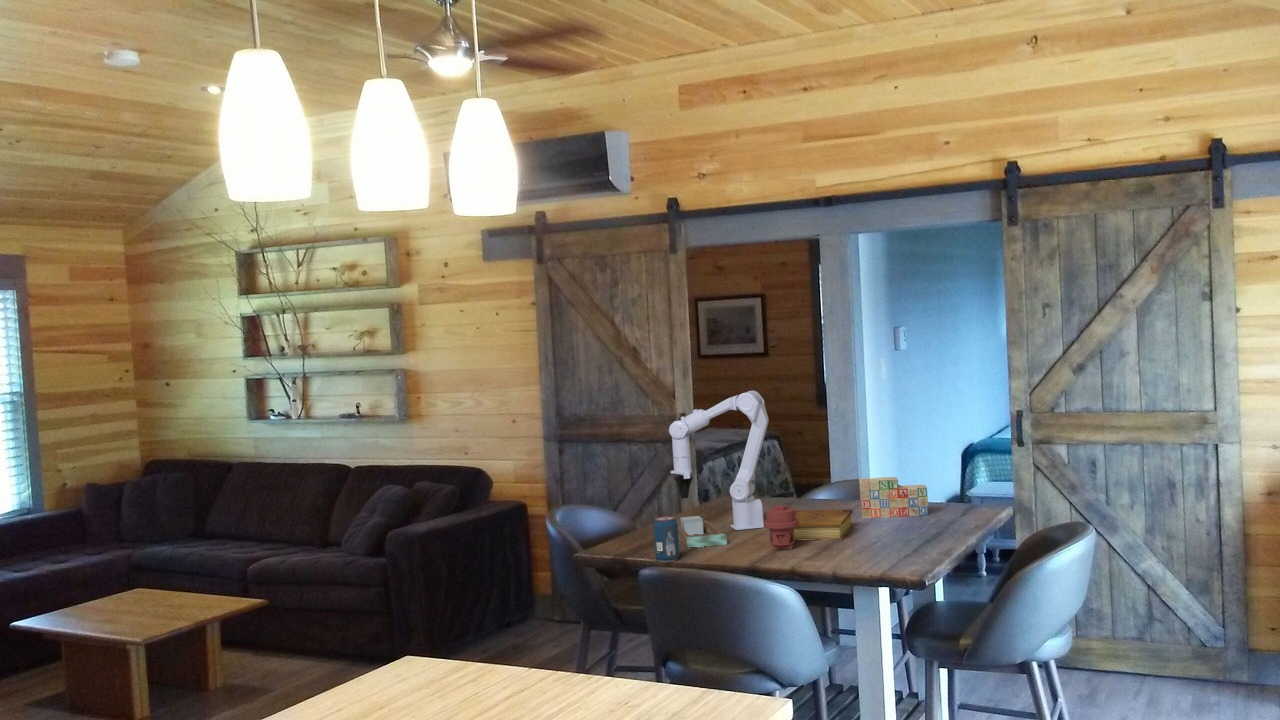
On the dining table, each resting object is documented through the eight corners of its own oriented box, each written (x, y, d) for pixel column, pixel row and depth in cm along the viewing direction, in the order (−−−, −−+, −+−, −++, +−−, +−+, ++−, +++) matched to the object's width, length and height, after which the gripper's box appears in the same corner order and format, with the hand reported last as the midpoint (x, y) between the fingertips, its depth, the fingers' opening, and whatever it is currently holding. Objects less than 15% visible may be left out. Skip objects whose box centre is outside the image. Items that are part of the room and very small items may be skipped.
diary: (795, 528, 362) (793, 510, 361) (853, 527, 355) (852, 509, 355) (779, 541, 340) (778, 522, 340) (842, 541, 334) (840, 522, 334)
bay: (707, 528, 367) (707, 519, 367) (727, 544, 339) (726, 534, 339) (671, 532, 365) (670, 523, 365) (687, 548, 337) (687, 538, 337)
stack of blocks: (927, 512, 370) (925, 475, 370) (929, 516, 364) (926, 478, 364) (861, 515, 374) (858, 478, 373) (861, 518, 368) (859, 481, 367)
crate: (700, 531, 365) (699, 515, 365) (703, 534, 359) (702, 518, 359) (681, 532, 364) (680, 517, 364) (684, 536, 358) (683, 520, 358)
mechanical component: (805, 549, 324) (773, 553, 321) (792, 543, 334) (760, 547, 331) (803, 506, 324) (770, 510, 321) (789, 502, 333) (757, 505, 331)
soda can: (665, 556, 327) (662, 515, 327) (684, 558, 323) (681, 516, 323) (650, 561, 322) (647, 519, 322) (669, 563, 318) (666, 520, 317)
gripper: (666, 455, 377) (668, 496, 378) (673, 460, 363) (676, 502, 363) (686, 453, 378) (689, 494, 379) (695, 458, 364) (698, 500, 364)
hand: (684, 498), depth 371 cm, fingers closed
